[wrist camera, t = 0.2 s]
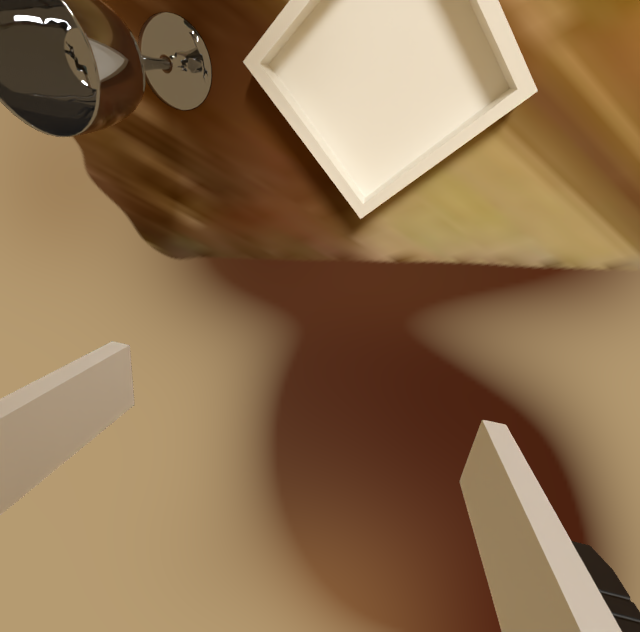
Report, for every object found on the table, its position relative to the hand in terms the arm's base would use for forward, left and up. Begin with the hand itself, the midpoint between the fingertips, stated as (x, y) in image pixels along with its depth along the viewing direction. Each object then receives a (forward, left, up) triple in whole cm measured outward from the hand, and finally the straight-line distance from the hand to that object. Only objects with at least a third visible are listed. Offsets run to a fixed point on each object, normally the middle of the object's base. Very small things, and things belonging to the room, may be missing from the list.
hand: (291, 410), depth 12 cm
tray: (-7, -7, -27) cm, 29 cm away
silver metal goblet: (+7, -20, -27) cm, 34 cm away
